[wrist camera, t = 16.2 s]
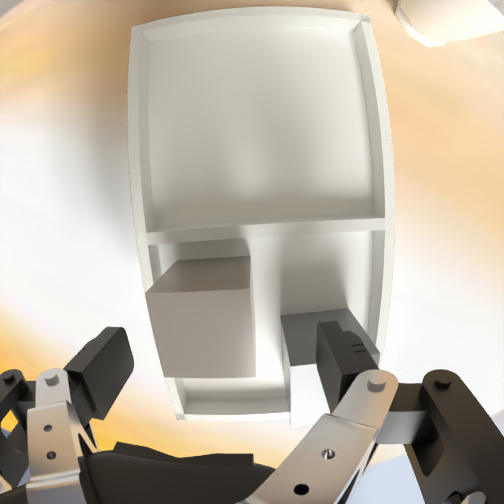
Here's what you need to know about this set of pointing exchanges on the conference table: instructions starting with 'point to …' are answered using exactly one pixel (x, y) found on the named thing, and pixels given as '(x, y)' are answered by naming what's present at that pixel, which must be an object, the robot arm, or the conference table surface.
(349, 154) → the divided tray
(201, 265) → the stone
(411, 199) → the conference table surface
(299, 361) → the matte grey cube
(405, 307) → the conference table surface
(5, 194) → the conference table surface
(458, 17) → the cup
